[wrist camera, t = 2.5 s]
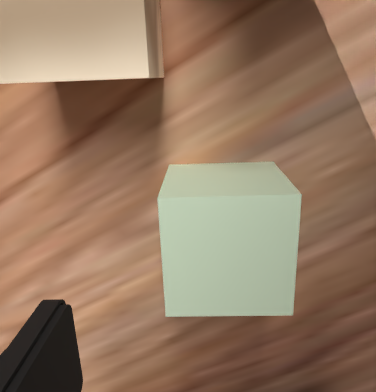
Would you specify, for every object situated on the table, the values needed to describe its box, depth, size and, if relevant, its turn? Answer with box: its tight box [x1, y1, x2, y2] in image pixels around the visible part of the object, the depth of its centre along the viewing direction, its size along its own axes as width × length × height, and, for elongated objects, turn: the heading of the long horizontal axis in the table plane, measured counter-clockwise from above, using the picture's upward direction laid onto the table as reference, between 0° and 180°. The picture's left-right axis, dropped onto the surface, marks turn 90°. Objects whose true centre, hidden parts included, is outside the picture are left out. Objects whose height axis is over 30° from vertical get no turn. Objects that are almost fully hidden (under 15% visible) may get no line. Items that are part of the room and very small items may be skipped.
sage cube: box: [157, 162, 302, 317], centre depth 15 cm, size 5×5×5 cm
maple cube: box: [0, 0, 164, 84], centre depth 13 cm, size 5×5×5 cm
